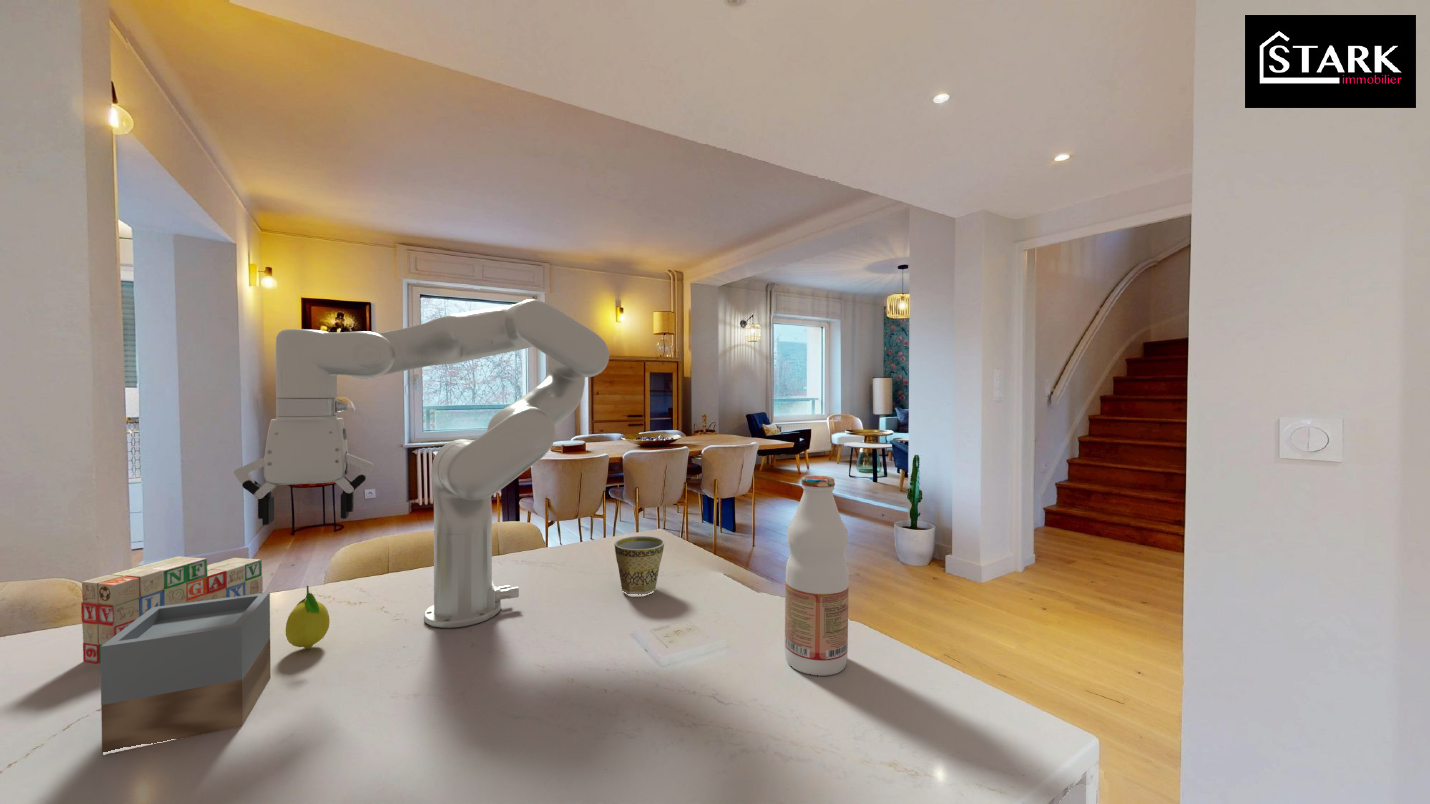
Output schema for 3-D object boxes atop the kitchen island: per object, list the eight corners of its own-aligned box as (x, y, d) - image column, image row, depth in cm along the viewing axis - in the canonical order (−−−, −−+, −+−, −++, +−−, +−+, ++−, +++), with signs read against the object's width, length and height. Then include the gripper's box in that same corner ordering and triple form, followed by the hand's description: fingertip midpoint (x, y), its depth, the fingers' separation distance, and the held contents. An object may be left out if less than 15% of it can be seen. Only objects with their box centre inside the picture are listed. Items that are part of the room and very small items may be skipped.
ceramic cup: (660, 601, 104) (661, 550, 104) (609, 600, 104) (609, 549, 104) (667, 578, 117) (668, 532, 117) (622, 577, 117) (622, 531, 117)
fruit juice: (780, 672, 78) (783, 480, 77) (788, 643, 87) (790, 471, 87) (847, 681, 76) (850, 484, 75) (847, 650, 85) (850, 474, 84)
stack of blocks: (236, 606, 100) (235, 540, 100) (263, 609, 99) (263, 542, 99) (81, 663, 79) (80, 580, 79) (114, 667, 78) (113, 583, 78)
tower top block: (270, 638, 75) (269, 592, 75) (241, 679, 64) (241, 625, 64) (153, 656, 70) (152, 607, 70) (101, 705, 59) (100, 646, 59)
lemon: (319, 657, 81) (319, 592, 81) (274, 661, 80) (274, 594, 80) (340, 637, 88) (340, 576, 87) (299, 640, 86) (299, 579, 86)
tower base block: (270, 680, 75) (270, 638, 75) (242, 728, 65) (242, 679, 65) (153, 702, 70) (153, 656, 70) (102, 758, 59) (101, 705, 59)
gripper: (375, 409, 90) (375, 510, 91) (243, 409, 82) (243, 520, 83) (370, 410, 84) (370, 519, 84) (225, 411, 76) (226, 531, 76)
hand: (307, 519), depth 83 cm, fingers open, 9 cm apart
